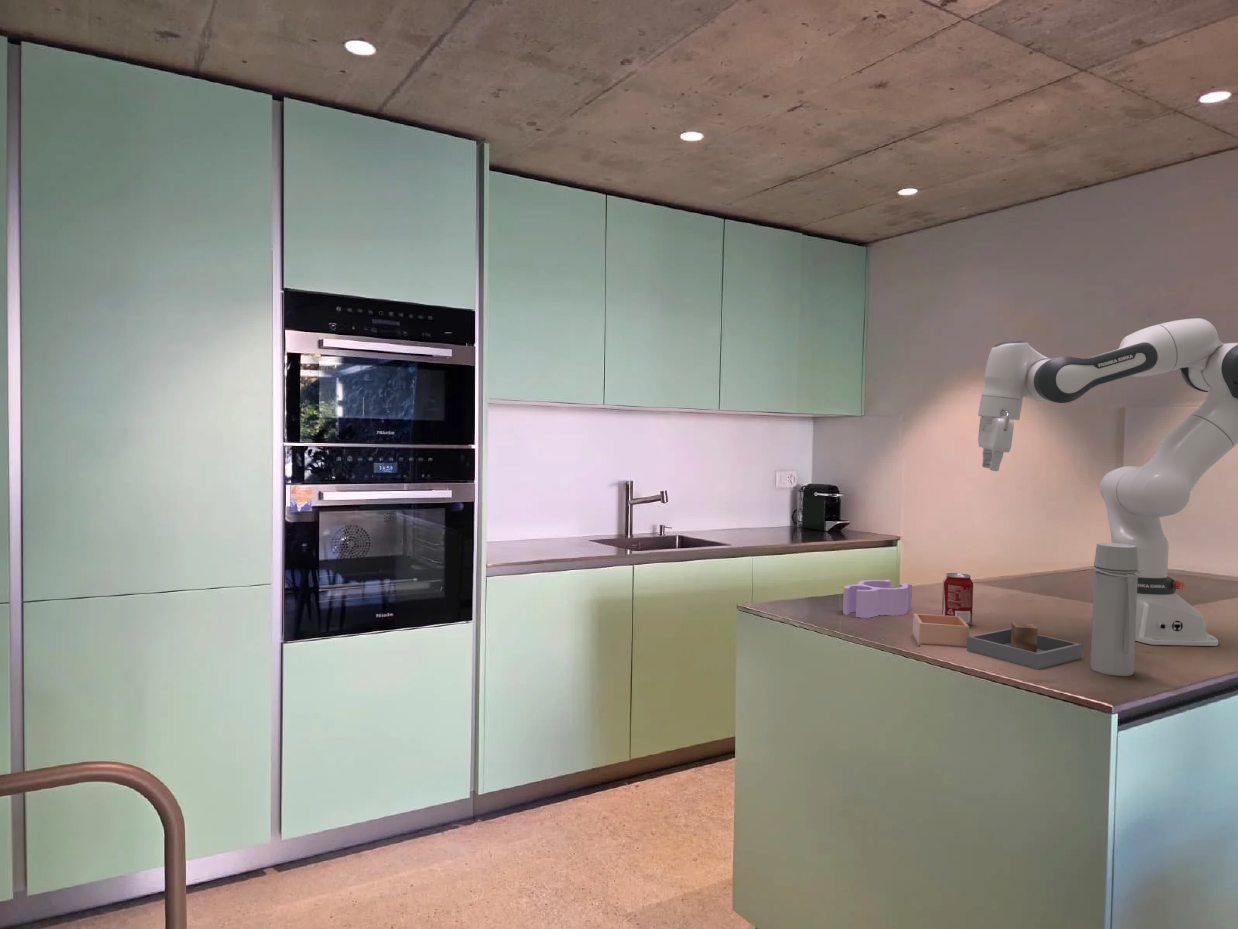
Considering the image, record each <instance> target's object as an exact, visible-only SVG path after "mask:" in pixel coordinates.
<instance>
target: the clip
mask: <svg viewBox="0 0 1238 929" xmlns="http://www.w3.org/2000/svg"><path fill="white" fill-rule="evenodd" d="M891 582H892V580H891V579H884V580H882V579H881V580H880V579H869V580H868V579H867V580H865V579H864V580H860V581H857V583H856V584H846V585H844V586H843V593H842V595H843V596H842V597H843V598H842V614H843V615H844V614H845V616H849V615H850V613H855V618H856V617H860V618H859V619H871V618H870V617H874V616H877V617H879V616H878V615H892V616H891V617H895V615H896V617H897V616H898V615H899V616H905V615H907V614H908V613H909V612H908V611H912V599H913V584H912V583H899V585H898V586H899V587H892V586H891ZM906 613H907V614H906ZM848 614H849V615H848ZM904 614H905V615H904ZM874 618H875V617H874Z"/></svg>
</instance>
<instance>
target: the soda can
mask: <svg viewBox="0 0 1238 929" xmlns="http://www.w3.org/2000/svg"><path fill="white" fill-rule="evenodd" d="M945 575H946V576H945V578H944V579H943V581H942V603H941V604H942V605H941V615H946V616H960V617H961V618H962V619H963V620H964V621H965V622H966V623H967V625H968V626H970V625H971V624H972V623H973V606H974V605H973V604H974V603H973V602H974V600H973V599H974V582H973V580H972V579H971V577H972V575H970V574H968V573H967V574H966V573H961V572H948V573H946V574H945Z"/></svg>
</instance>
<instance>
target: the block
mask: <svg viewBox="0 0 1238 929" xmlns="http://www.w3.org/2000/svg"><path fill="white" fill-rule="evenodd" d="M1010 628H1011V647H1015V648H1019V649H1023V650H1027V651H1031V652H1035V653H1037V634H1038V633H1039V632H1038V627H1037V626H1035V625H1034V624H1033V623H1022V622H1021V623H1020V622H1011V626H1010Z"/></svg>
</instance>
